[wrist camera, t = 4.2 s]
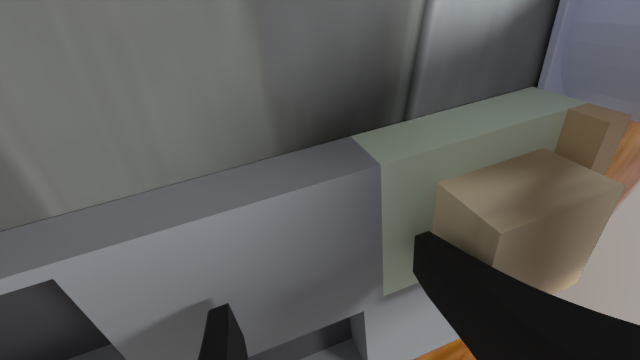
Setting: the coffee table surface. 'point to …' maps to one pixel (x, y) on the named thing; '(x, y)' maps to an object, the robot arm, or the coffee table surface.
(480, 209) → the maple block
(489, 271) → the robot arm
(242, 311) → the board
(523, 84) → the coffee table surface
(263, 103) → the coffee table surface
